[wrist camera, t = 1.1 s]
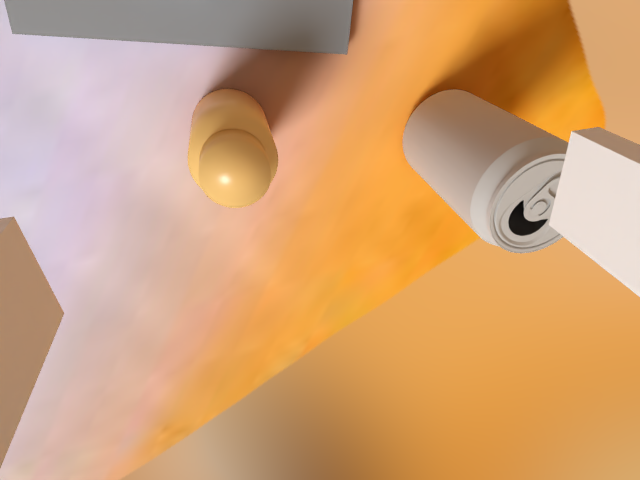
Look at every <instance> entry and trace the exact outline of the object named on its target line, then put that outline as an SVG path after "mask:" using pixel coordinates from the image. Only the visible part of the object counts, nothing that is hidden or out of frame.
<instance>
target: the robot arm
mask: <svg viewBox="0 0 640 480" xmlns="http://www.w3.org/2000/svg"><path fill="white" fill-rule="evenodd" d="M549 226H551V227H552V228H553V229H554V230H556V231H557V232H558V233H560V234H561V235H562V236H563V237H565V238H566V239H567V240H569V241H570V242H571V243H572V244H573V245H575V246H576V247H577V248H579V249H580V250H581V251H582V252H584V253H585V254H586V255H587V256H589V257H590V258H591V259H593V260H594V261H595V262H596V263H598V264H599V265H600V266H601V267H603V268H604V269H605V270H606V271H608V272H609V273H610V274H611V275H613V276H614V277H615V278H617V279H618V280H619V281H620V282H622V283H623V284H624V285H626V286H627V287H628V288H629V289H631V290H632V291H633V292H634V293H636V294H637V295H638V296H639V297H640V145H639V144H636V143H634V142H632V141H629V140H627V139H625V138H622V137H620V136H618V135H616V134H613V133H611V132H609V131H606V130H604V129H602V128H600V127H596V128H590V129H583V130H577V131H572V132H571V136H570V140H569V144H568V148H567V152H566V156H565V160H564V164H563V168H562V172H561V176H560V181H559V185H558V189H557V193H556V197H555V201H554V205H553V209H552V213H551V217H550V221H549ZM63 315H64V312H63V310H62V308H61V306H60V304H59V303H58V301H57V299H56V297H55V295H54V293H53V291H52V289H51V287H50V285H49V283H48V281H47V279H46V277H45V276H44V274H43V272H42V270H41V268H40V266H39V264H38V262H37V260H36V258H35V256H34V254H33V252H32V250H31V249H30V247H29V245H28V243H27V241H26V239H25V237H24V235H23V233H22V231H21V229H20V227H19V225H18V224H17V222H16V220H15V218H14V217H8V218H2V219H0V468H1V465H2V463H3V460H4V458H5V455H6V453H7V451H8V448H9V446H10V443H11V441H12V438H13V436H14V434H15V431H16V429H17V426H18V424H19V422H20V419H21V417H22V414H23V412H24V409H25V407H26V405H27V402H28V400H29V397H30V395H31V392H32V390H33V388H34V385H35V383H36V380H37V378H38V375H39V373H40V371H41V368H42V366H43V363H44V361H45V358H46V356H47V354H48V351H49V349H50V346H51V344H52V342H53V339H54V337H55V334H56V332H57V329H58V327H59V325H60V322H61V320H62V317H63Z"/></svg>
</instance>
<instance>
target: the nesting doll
mask: <svg viewBox="0 0 640 480" xmlns="http://www.w3.org/2000/svg"><path fill="white" fill-rule="evenodd" d="M188 166H189V170H190V173H191V175H192V177H193V179H194V180H195V182H196V183H197V184H198V185H199V187H201V188H202V189H203V191H204V193H205V194H206V195H207V196H208V197H209V198H210V199H211V200H212V201H214V202H216V203H217V204H219V205H222V206H225V207H230V208H241V207H245V206H249V205H251V204H253V203H255V202H257V201H258V200H259V199H260V198H261V197H262V196H263V195H264V194H265V193H266V191H267V190H268V188H269V185H270V183H271V181H272V180H273V178H274V176H275V174H276V171H277V166H278V154H277V149H276V146H275V143H274V140H273V137H272V134H271V131H270V128H269V125H268V122H267V119H266V117H265V114H264V111H263V109H262V108H261V106H260V105H259V103H258V102H257V101H256V100H255V99H254V98H253V97H251V96H250V95H249V94H247V93H245V92H242V91H240V90H236V89H220V90H216V91H213V92H211V93H209V94H208V95H206V96H205V97H204V98H202V99H201V101H200V102H199V103H198V105H197V106H196V108H195V110H194V113H193V117H192V124H191V132H190V141H189V149H188Z"/></svg>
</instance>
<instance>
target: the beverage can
mask: <svg viewBox="0 0 640 480" xmlns="http://www.w3.org/2000/svg"><path fill="white" fill-rule="evenodd" d="M568 144H569V143H567V142H566V141H564V140H562V139H560V138H558V137H556V136H554V135H552V134H550V133H548V132H546V131H544V130H542V129H540V128H538V127H536V126H534V125H533V124H531V123H529V122H527V121H525V120H523V119H521V118H519V117H517V116H515V115H513V114H511V113H509V112H507V111H505V110H503V109H501V108H499V107H497V106H495V105H493V104H491V103H489V102H487V101H485V100H483V99H481V98H479V97H477V96H475V95H473V94H471V93H469V92H467V91H464V90H457V89H452V90H445V91H441V92H438V93H436V94H434V95H432V96H430V97H429V98H427V99H426V100H424V101H423V102H422V103H421V104H420V105H419V106H418V107H417V108H416V109H415V110H414V112H413V113H412V114H411V116H410V118H409V120H408V122H407V124H406V126H405V130H404V134H403V151H404V154H405V157H406V159H407V161H408V163H409V164H410V166H411V167H412V168H413V169H414V170H415V171H416V172H417V173H418V174H419V175H420V176H421V177H422V178H423V179H424V180H425V181H426V182H427V183H428V184H429V185H430V186H431V187H432V188H433V190H434V191H435V192H436V193H437V194H438V195H439V196H440V197H441V198H442V199H443V200H444V201H445V202H446V203H447V204H448V205H449V206H450V207H451V208H452V209H453V210H454V211H455V212H456V213H457V214H458V215H459V216H460V217H461V218H462V219H463V220H464V221H465V222H466V223H467V224H468V225H469V226H470V227H471V228H472V229H473V230H474V231H475V232H476V234H477V235H478V236H479V237H481V238H482V239H483V240H484V241H486V242H488V243H490V244H493V245H496V246H500V247H501V248H503V249H505V250H507V251H510V252H514V253H529V252H534V251H538V250H540V249H543V248H545V247H548V246H549V245H551V244H553V243H555V242H557V241H558V240H559V239H561V238H562V237H563V236H562V235H561V234H560V233H558V232H557V231H556V230H554V229H553V228H552V227H551V226H549V221H550V217H551V213H552V209H553V205H554V201H555V197H556V193H557V189H558V185H559V181H560V176H561V172H562V168H563V164H564V160H565V156H566V152H567V148H568Z"/></svg>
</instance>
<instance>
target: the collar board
mask: <svg viewBox="0 0 640 480" xmlns="http://www.w3.org/2000/svg"><path fill="white" fill-rule="evenodd" d="M4 1H5V5H6V9H7V13H8V17H9V22H10V26H11V30H12V34H25V35H41V36H57V37H73V38H89V39H106V40H122V41H138V42H154V43H171V44H187V45H203V46H219V47H235V48H252V49H268V50H284V51H300V52H316V53H333V54H347V51H348V42H349V34H350V25H351V16H352V7H353V0H4Z"/></svg>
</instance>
